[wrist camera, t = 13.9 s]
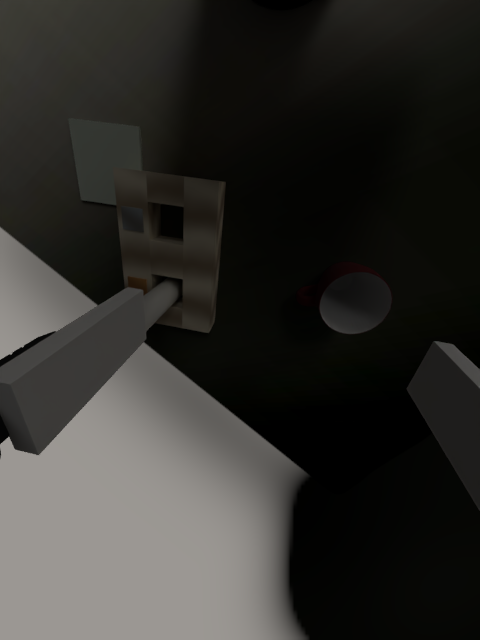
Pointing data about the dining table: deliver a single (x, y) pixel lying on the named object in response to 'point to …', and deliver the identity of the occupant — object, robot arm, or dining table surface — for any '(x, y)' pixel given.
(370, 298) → the mug
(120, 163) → the pad
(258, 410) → the dining table surface
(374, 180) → the dining table surface
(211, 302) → the socket block
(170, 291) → the plug
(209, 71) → the dining table surface
